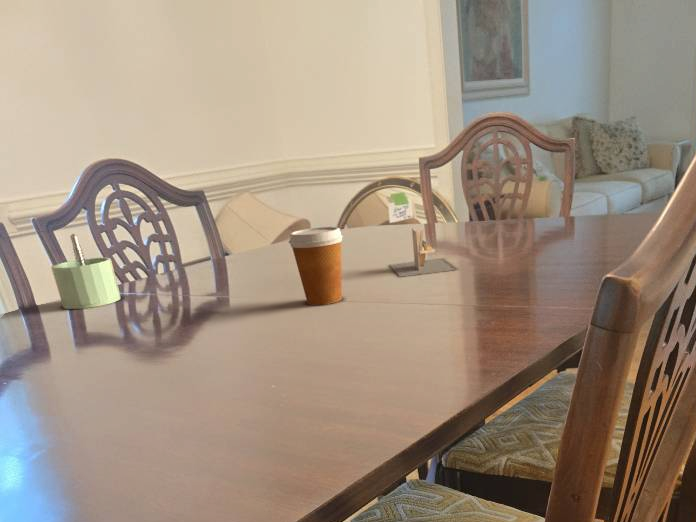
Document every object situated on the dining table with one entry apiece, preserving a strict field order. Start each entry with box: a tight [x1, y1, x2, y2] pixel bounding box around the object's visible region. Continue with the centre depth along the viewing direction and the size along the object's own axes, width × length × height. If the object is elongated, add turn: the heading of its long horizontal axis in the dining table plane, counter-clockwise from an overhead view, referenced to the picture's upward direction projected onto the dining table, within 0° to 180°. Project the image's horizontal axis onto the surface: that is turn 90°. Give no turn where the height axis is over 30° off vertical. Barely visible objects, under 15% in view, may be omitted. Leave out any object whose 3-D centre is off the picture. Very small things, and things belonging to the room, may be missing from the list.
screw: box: [70, 233, 86, 266], centre depth 158 cm, size 13×5×5 cm
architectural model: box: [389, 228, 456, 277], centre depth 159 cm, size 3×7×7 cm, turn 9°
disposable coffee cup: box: [288, 226, 343, 306], centre depth 137 cm, size 10×10×12 cm
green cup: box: [50, 256, 122, 310], centre depth 159 cm, size 12×12×8 cm
